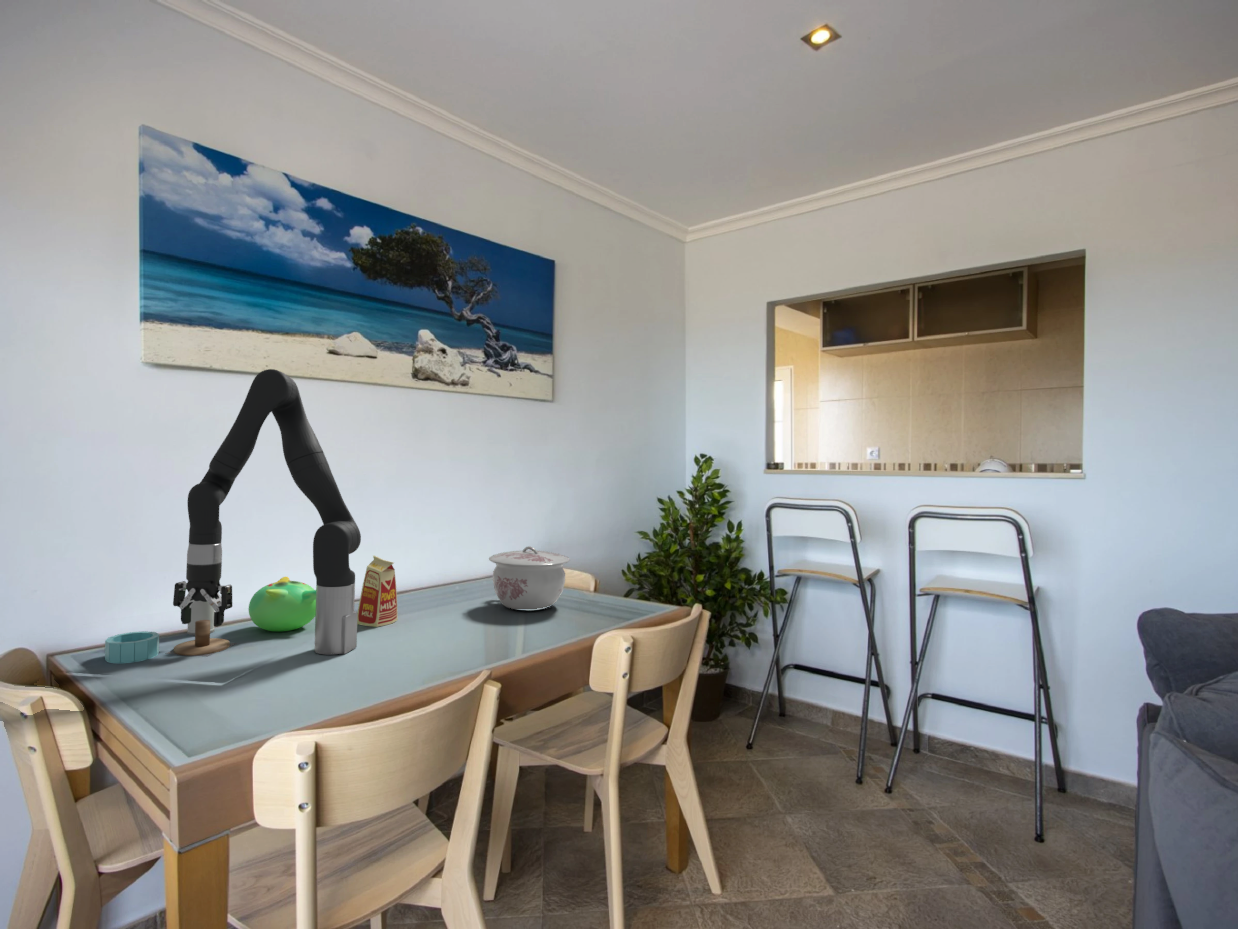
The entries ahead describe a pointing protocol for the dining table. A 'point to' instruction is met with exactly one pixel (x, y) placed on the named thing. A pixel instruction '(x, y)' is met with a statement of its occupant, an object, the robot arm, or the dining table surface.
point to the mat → (199, 655)
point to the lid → (201, 642)
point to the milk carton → (378, 595)
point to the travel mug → (201, 615)
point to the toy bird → (283, 605)
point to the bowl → (131, 647)
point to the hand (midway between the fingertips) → (202, 624)
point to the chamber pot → (528, 578)
